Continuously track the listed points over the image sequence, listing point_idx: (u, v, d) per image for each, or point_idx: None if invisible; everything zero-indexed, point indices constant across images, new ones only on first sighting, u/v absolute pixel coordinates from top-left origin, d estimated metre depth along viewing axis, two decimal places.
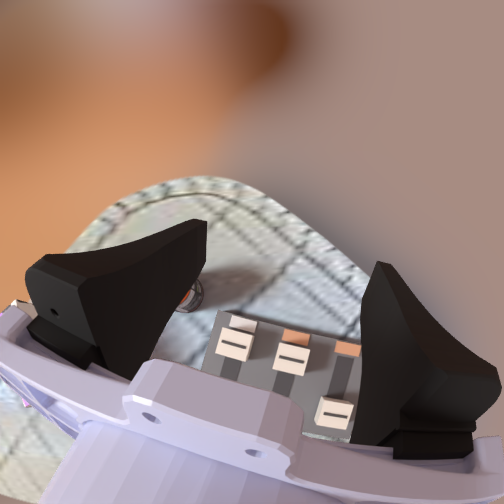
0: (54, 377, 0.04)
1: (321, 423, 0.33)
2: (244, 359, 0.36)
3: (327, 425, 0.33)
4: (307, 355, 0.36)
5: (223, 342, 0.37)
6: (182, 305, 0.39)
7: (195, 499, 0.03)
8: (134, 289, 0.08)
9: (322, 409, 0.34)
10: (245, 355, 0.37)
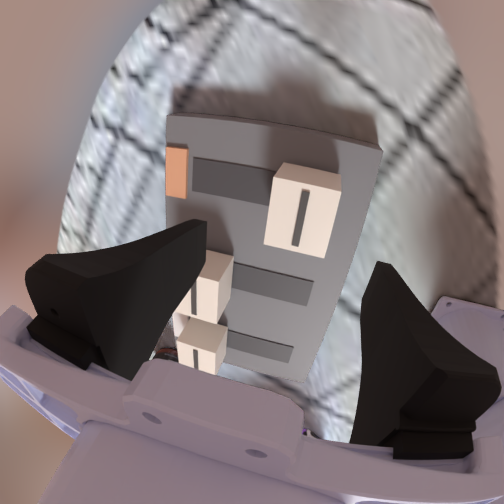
0: (54, 377, 0.04)
1: (320, 248, 0.16)
2: (212, 353, 0.24)
3: (327, 236, 0.16)
4: None
5: None
6: None
7: (195, 500, 0.03)
8: (134, 289, 0.08)
9: (286, 246, 0.17)
10: (206, 351, 0.24)
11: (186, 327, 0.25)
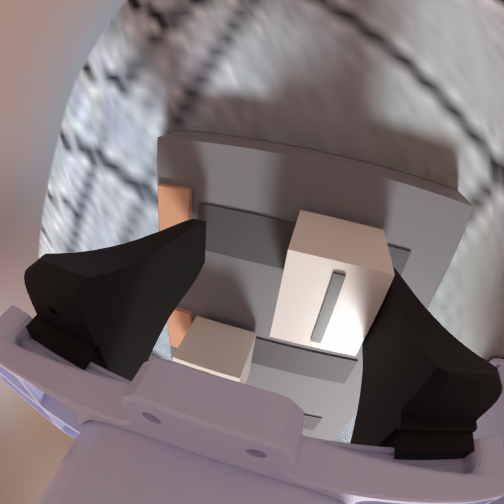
0: (54, 377, 0.04)
1: (352, 345, 0.11)
2: None
3: (363, 332, 0.10)
4: (187, 363, 0.14)
5: None
6: None
7: (195, 500, 0.03)
8: (133, 289, 0.08)
9: (302, 341, 0.11)
10: None
11: None
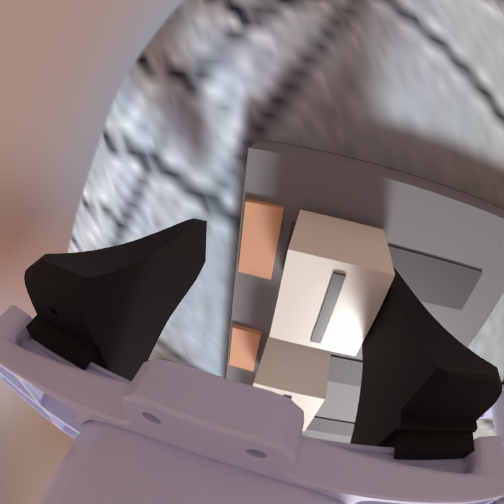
0: (54, 377, 0.04)
1: (352, 345, 0.11)
2: None
3: (363, 332, 0.10)
4: (269, 388, 0.13)
5: None
6: None
7: (196, 500, 0.03)
8: (133, 289, 0.08)
9: (302, 341, 0.11)
10: None
11: None
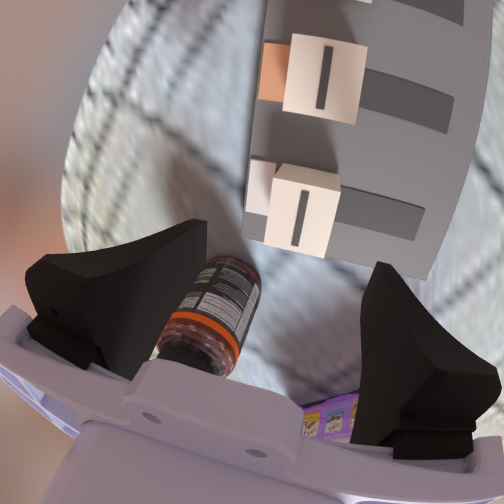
0: (54, 377, 0.04)
1: None
2: (335, 194, 0.15)
3: None
4: (309, 38, 0.11)
5: (298, 242, 0.17)
6: (233, 317, 0.20)
7: (195, 500, 0.03)
8: (134, 289, 0.08)
9: None
10: (324, 192, 0.15)
11: (282, 169, 0.16)
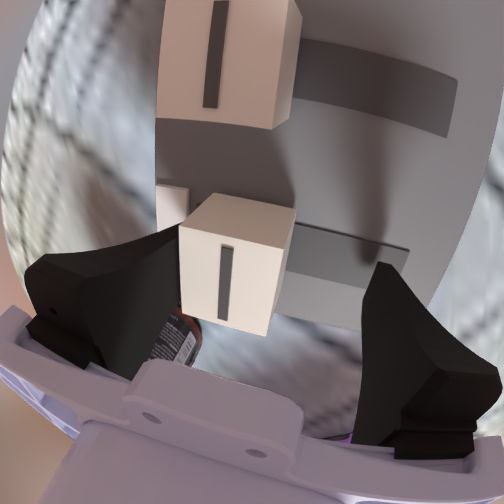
0: (54, 377, 0.04)
1: None
2: (274, 252, 0.09)
3: None
4: None
5: (227, 314, 0.11)
6: None
7: (195, 500, 0.03)
8: (133, 289, 0.08)
9: None
10: (257, 248, 0.09)
11: (203, 206, 0.11)
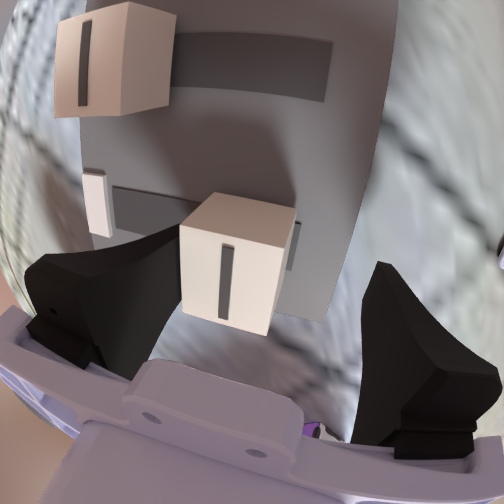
0: (54, 377, 0.04)
1: None
2: (275, 251, 0.09)
3: None
4: (71, 21, 0.07)
5: (227, 314, 0.11)
6: None
7: (195, 500, 0.03)
8: (133, 289, 0.08)
9: None
10: (258, 248, 0.09)
11: (204, 205, 0.11)
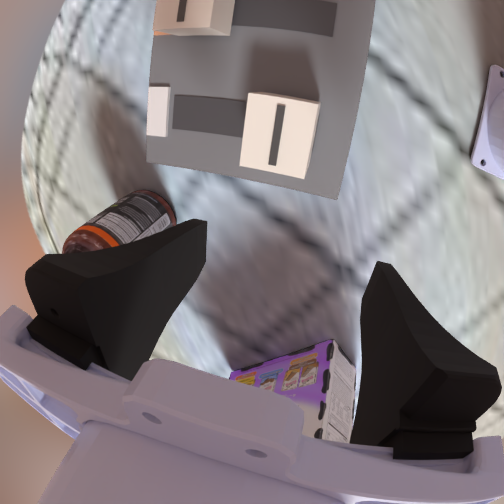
0: (54, 377, 0.04)
1: None
2: (312, 106, 0.13)
3: None
4: None
5: (275, 161, 0.15)
6: (128, 234, 0.20)
7: (195, 500, 0.03)
8: (134, 289, 0.08)
9: None
10: (301, 104, 0.13)
11: (259, 92, 0.15)
